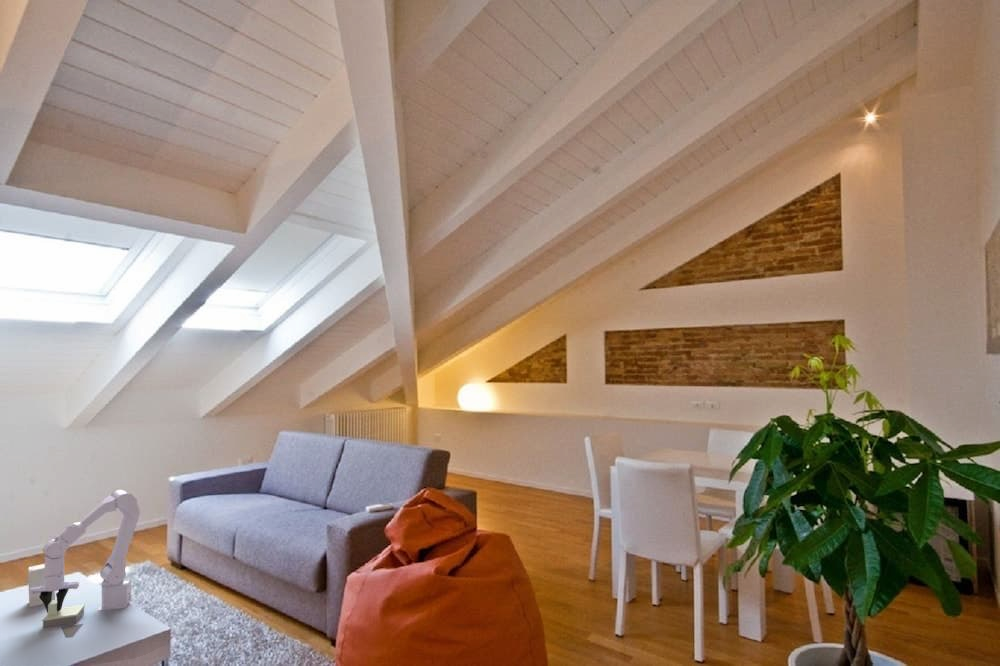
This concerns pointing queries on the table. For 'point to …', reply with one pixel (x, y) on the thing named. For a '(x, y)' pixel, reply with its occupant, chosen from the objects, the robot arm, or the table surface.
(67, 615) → the lid
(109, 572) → the robot arm
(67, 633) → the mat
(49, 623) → the tub
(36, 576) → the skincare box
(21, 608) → the table surface
